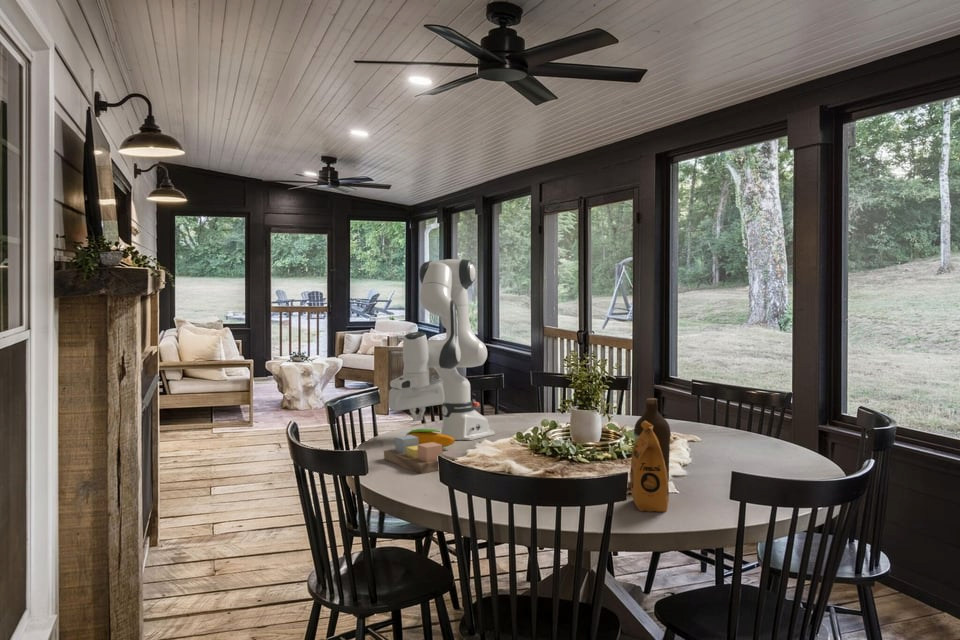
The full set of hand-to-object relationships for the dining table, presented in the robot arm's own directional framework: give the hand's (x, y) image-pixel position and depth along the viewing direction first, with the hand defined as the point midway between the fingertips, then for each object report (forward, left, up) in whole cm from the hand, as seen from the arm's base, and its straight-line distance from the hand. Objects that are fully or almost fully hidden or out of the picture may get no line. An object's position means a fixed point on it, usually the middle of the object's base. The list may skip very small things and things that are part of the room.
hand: (417, 420), depth 243 cm
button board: (0, 0, -15) cm, 15 cm away
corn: (-14, -17, -15) cm, 27 cm away
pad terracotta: (0, +8, -12) cm, 14 cm away
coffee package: (-25, +81, -15) cm, 86 cm away
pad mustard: (0, 0, -14) cm, 14 cm away
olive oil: (-44, +65, -15) cm, 80 cm away
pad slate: (0, -8, -12) cm, 14 cm away
